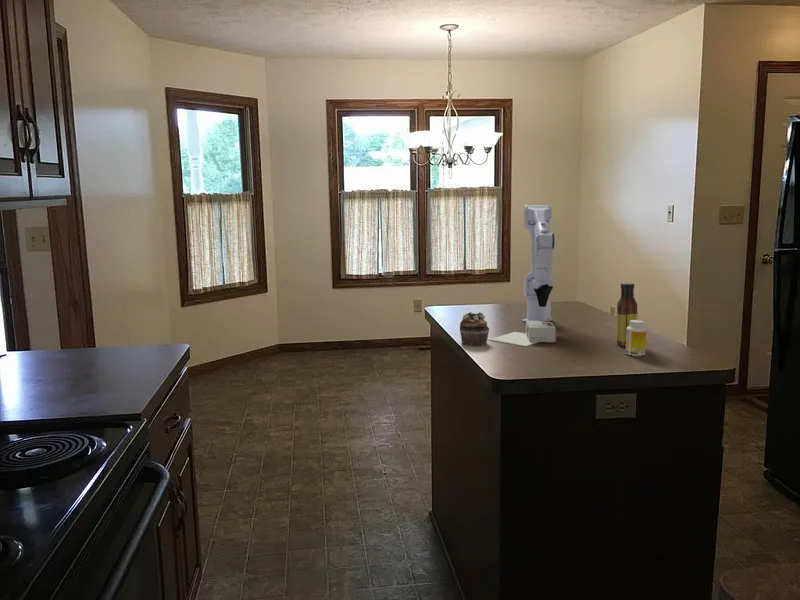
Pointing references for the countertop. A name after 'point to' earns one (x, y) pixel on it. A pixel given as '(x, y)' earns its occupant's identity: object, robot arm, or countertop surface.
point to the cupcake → (474, 330)
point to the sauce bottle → (625, 311)
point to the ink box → (540, 331)
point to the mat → (514, 339)
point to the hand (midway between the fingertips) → (542, 306)
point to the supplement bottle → (636, 338)
